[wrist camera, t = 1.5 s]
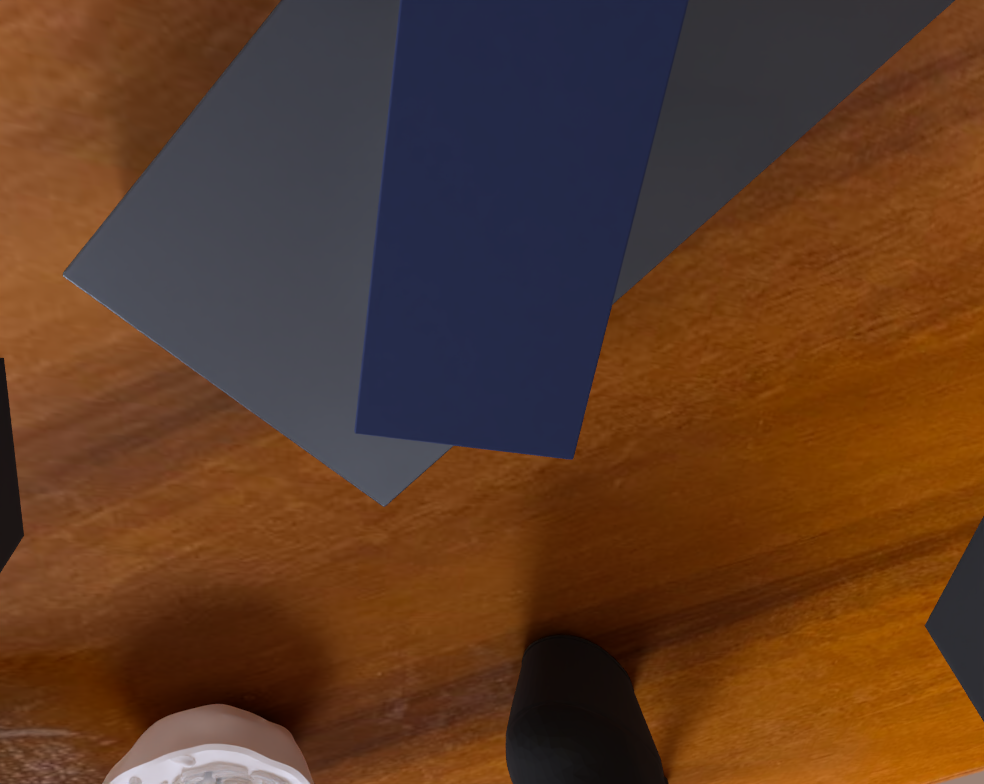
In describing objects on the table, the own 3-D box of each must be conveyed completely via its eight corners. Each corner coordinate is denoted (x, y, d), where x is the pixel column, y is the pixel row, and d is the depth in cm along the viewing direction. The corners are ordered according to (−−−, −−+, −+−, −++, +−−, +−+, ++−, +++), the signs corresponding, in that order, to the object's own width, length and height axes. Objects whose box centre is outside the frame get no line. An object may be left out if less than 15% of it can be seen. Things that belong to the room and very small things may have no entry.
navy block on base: (421, -141, 24) (403, -140, 17) (639, -99, 25) (720, -80, 17) (370, 327, 31) (340, 482, 24) (542, 349, 32) (568, 508, 24)
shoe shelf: (622, -411, 27) (666, -481, 21) (888, -42, 32) (979, -21, 26) (123, 209, 36) (60, 275, 30) (394, 419, 41) (384, 508, 35)
